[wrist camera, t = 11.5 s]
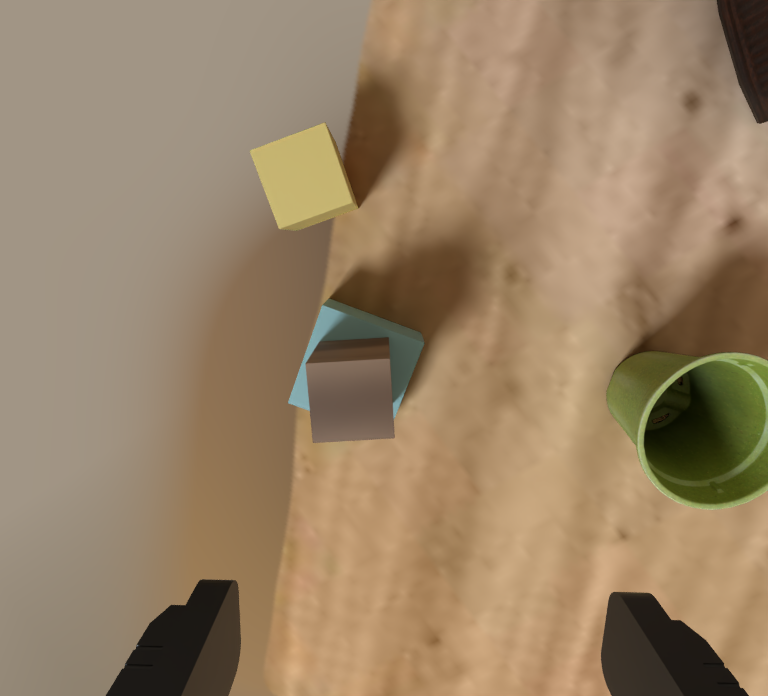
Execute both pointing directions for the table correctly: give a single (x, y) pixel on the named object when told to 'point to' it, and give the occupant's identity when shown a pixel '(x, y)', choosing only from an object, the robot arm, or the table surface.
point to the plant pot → (697, 424)
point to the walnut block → (350, 390)
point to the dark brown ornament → (748, 49)
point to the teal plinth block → (358, 324)
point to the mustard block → (304, 178)
